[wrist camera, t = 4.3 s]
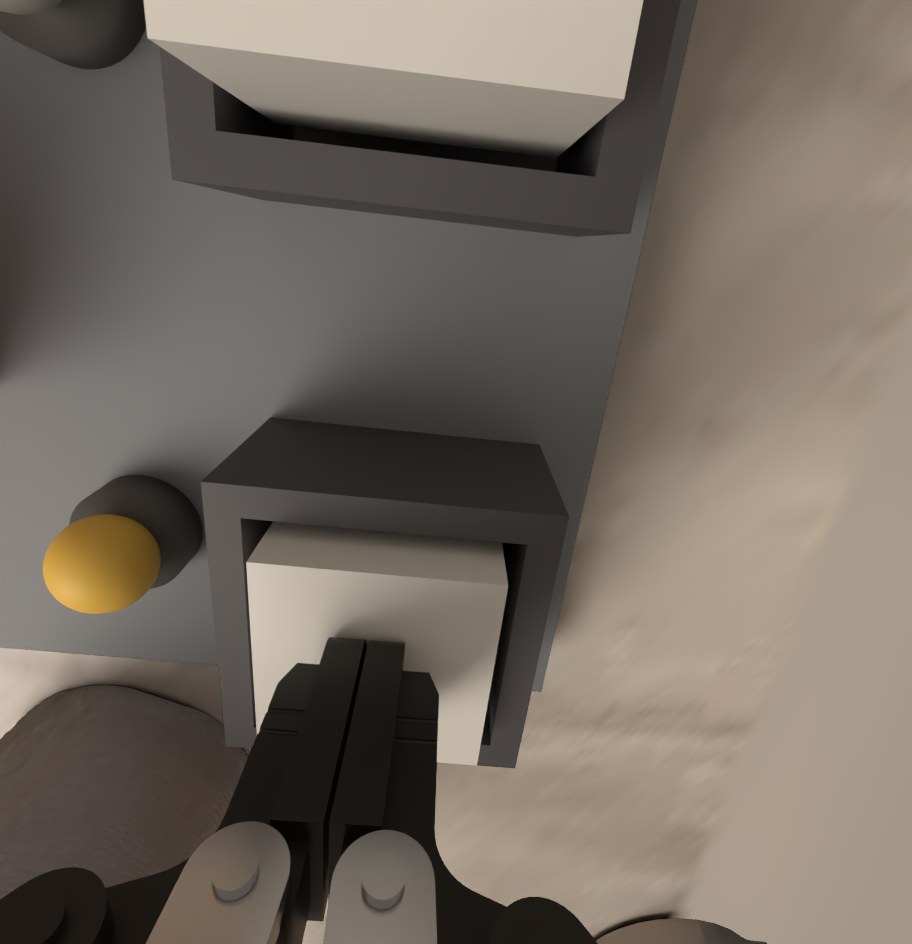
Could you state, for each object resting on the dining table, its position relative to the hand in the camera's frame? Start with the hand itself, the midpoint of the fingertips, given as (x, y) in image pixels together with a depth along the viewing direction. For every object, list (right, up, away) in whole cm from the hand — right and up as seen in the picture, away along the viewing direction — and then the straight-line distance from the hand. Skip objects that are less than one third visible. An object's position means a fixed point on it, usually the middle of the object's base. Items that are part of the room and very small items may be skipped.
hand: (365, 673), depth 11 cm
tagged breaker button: (0, +2, +4) cm, 4 cm away
